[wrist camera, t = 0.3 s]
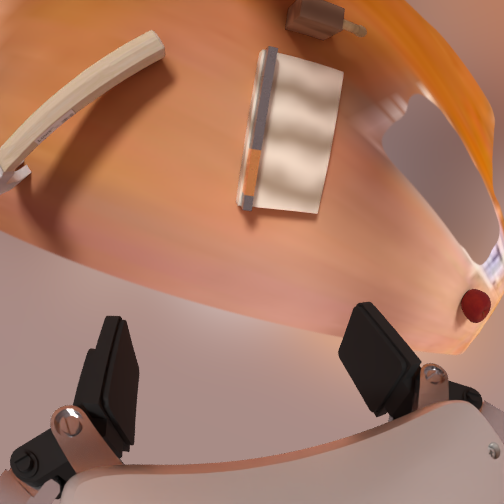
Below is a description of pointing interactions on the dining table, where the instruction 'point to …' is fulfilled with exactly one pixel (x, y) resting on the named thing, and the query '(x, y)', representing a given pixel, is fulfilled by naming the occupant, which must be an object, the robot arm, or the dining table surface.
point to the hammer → (75, 102)
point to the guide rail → (258, 127)
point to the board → (294, 134)
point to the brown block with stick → (319, 19)
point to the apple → (476, 305)
